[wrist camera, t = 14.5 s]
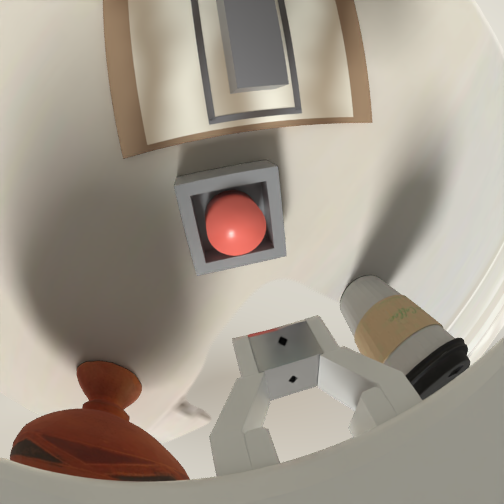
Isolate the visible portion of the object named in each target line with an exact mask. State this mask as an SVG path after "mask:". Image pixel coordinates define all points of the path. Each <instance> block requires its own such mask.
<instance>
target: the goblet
mask: <svg viewBox="0 0 504 504" xmlns="http://www.w3.org/2000/svg"><path fill="white" fill-rule="evenodd" d="M77 378H78V381H79V384H80V386H81V388H82V390H83V392H84V393H85V395H86V396H87V398H88V399H89V401H88V402H86V403H84V404H83V409H69V410H62V411H57V412H53V413H50V414H47V415H44V416H41V417H39V418H37V419H35V420H33V421H31V422H30V423H28V424H26V425H25V426H24V427H23V428H22V430H21V431H20V433H19V434H18V435H17V437H16V439H15V440H14V442H13V447H12V450H11V454H10V460H11V461H14V462H17V463H20V464H23V465H27V466H30V467H34V468H38V469H42V470H46V471H51V472H56V473H60V474H66V475H71V476H78V477H85V478H92V479H102V480H114V481H135V482H158V481H179V480H190V479H189V477H188V475H187V473H186V472H185V470H184V469H183V467H182V466H181V465H180V463H179V462H178V461H177V460H176V459H175V458H174V457H173V456H172V455H171V454H170V453H169V452H168V451H167V450H166V449H165V448H164V447H163V446H162V445H161V444H160V443H159V442H158V441H157V440H156V439H155V438H154V437H152V436H151V435H150V434H148V433H147V432H146V431H144V430H143V429H141V428H140V427H138V426H136V425H134V424H132V423H130V422H129V416H128V414H127V413H126V412H125V411H124V409H125V408H126V407H128V406H129V405H131V404H132V403H133V402H134V401H136V400H137V398H138V397H139V395H140V393H141V391H142V385H141V384H140V382H139V380H138V379H137V377H136V375H134V374H133V373H132V372H131V371H129V370H128V369H126V368H124V367H121V366H119V365H116V364H114V363H110V362H104V361H91V362H85V363H82V364H81V365H80V366H78V368H77Z"/></svg>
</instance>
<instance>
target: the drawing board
mask: <svg viewBox="0 0 504 504" xmlns="http://www.w3.org/2000/svg"><path fill="white" fill-rule="evenodd" d="M275 5H276V10H277V15H278V20H279V26H280V31H281V37H282V43H283V49H284V55H285V61H286V68H287V74H288V81H289V84H288V85H285V86H282V87H279V88H277V89H271V90H260V91H250V92H241V93H234V94H230V88H229V81H228V75H227V68H226V62H225V56H224V49H223V43H222V36H221V30H220V23H219V17H218V10H217V4H216V0H103V19H104V37H105V49H106V59H107V69H108V77H109V84H110V91H111V98H112V104H113V110H114V116H115V121H116V126H117V132H118V137H119V141H120V146H121V151H122V155H123V159H125V158H128V157H131V156H135V155H138V154H142V153H146V152H149V151H153V150H157V149H161V148H165V147H169V146H173V145H178V144H182V143H186V142H191V141H196V140H201V139H206V138H211V137H216V136H222V135H228V134H234V133H240V132H247V131H254V130H262V129H270V128H279V127H288V126H300V125H313V124H331V123H372V112H371V100H370V90H369V81H368V73H367V66H366V59H365V53H364V47H363V41H362V36H361V31H360V26H359V21H358V17H357V12H356V8H355V4H354V0H275Z"/></svg>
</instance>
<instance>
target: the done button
mask: <svg viewBox="0 0 504 504" xmlns="http://www.w3.org/2000/svg"><path fill="white" fill-rule="evenodd" d="M205 223H206V230H207V236H208V239H209V241H210V243H211V244H212V246H213V247H214V248H215V249H216V250H218V251H219V252H221V253H223V254H226V255H232V256H238V255H243V254H246V253H248V252H250V251H252V250H253V249H255V248H256V247H257V246H258V245H259V244H260V243H261V241H262V240H263V238H264V235H265V232H266V220H265V217H264V215H263V213H262V211H261V210H260V209H259V207H258V206H257V205H256V203H255V202H254V200H253V199H252V198H251V197H250V196H249V195H248V194H246V193H244V192H242V191H238V190H227V191H223V192H221V193H219V194H217V195H216V196H215V197H213V198H212V199H211V201H210V202H209V204H208V205H207V208H206V211H205Z"/></svg>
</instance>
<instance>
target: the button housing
mask: <svg viewBox="0 0 504 504" xmlns="http://www.w3.org/2000/svg"><path fill="white" fill-rule="evenodd" d="M174 189H175V193H176V197H177V202H178V206H179V210H180V214H181V218H182V222H183V226H184V230H185V234H186V238H187V242H188V246H189V249H190V253H191V257H192V260H193V264H194V268H195V271H196V275H197V276H199V275H204V274H208V273H213V272H217V271H222V270H226V269H231V268H236V267H240V266H244V265H249V264H253V263H258V262H262V261H267V260H271V259H276V258H280V257H284V256H286V244H285V233H284V222H283V211H282V201H281V191H280V181H279V172H278V166H277V165H275V164H273V163H271V162H270V161H268V160H262V161H256V162H250V163H244V164H238V165H233V166H227V167H222V168H217V169H212V170H207V171H202V172H197V173H193V174H188V175H184V176H179V177H176V181H175V184H174ZM227 190H238V191H242V192H244V193H246V194H248V195H249V196H250V197H251V198H252V199H253V200H254V202H255V203H256V205H257V206H258V207H259V209H260V210H261V211H262V213H263V215H264V217H265V220H266V232H265V235H264V238H263V240H262V241H261V243H260V244H259V245H258V246H257V247H256V248H255V249H253V250H252V251H250V252H248V253H246V254H243V255H238V256H232V255H226V254H223V253H221V252H219V251H218V250H216V249H215V248H214V247H213V246H212V244H211V243H210V241H209V239H208V236H207V230H206V223H205V211H206V208H207V205H208V204H209V202H210V201H211V199H212V198H213V197H215V196H216V195H217V194H219V193H221V192H223V191H227Z"/></svg>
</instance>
